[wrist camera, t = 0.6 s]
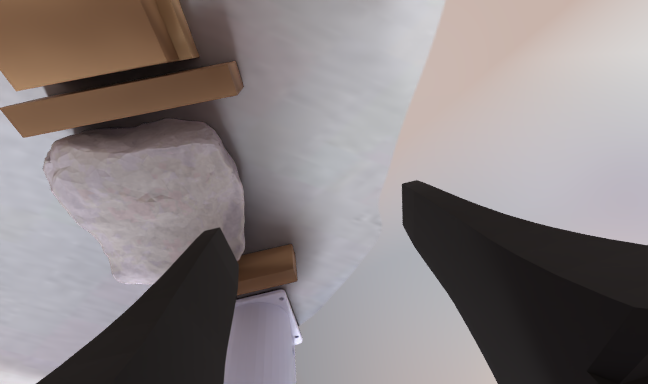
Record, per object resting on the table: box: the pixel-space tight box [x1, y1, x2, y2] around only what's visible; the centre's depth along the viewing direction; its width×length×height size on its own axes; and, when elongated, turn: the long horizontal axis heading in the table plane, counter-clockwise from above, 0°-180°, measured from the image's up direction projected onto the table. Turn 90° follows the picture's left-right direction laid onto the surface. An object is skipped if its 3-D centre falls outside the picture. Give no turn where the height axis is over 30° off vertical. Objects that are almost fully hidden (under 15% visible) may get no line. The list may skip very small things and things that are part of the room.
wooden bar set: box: [0, 61, 297, 295], centre depth 16 cm, size 23×26×3 cm
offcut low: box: [56, 0, 199, 84], centre depth 14 cm, size 4×8×2 cm, turn 100°
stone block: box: [43, 118, 245, 284], centre depth 18 cm, size 12×5×10 cm
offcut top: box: [0, 0, 179, 91], centre depth 12 cm, size 3×7×2 cm, turn 100°
